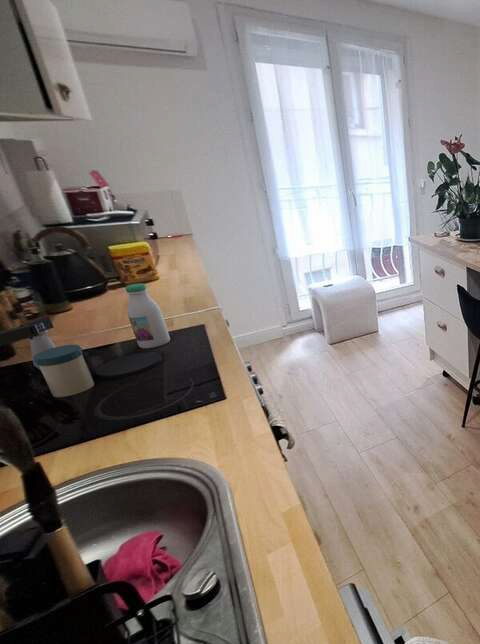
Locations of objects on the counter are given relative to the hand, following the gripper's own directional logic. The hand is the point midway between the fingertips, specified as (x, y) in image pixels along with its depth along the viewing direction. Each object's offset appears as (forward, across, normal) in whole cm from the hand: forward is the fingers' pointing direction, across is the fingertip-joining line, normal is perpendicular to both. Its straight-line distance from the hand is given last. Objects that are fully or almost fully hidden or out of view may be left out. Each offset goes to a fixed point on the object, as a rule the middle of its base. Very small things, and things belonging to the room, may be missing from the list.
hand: (14, 327), depth 94 cm
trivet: (+19, +6, -19) cm, 28 cm away
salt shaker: (+23, -15, -17) cm, 32 cm away
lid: (+7, 0, -9) cm, 12 cm away
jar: (+8, -1, -20) cm, 21 cm away
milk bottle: (+34, +4, -18) cm, 39 cm away
